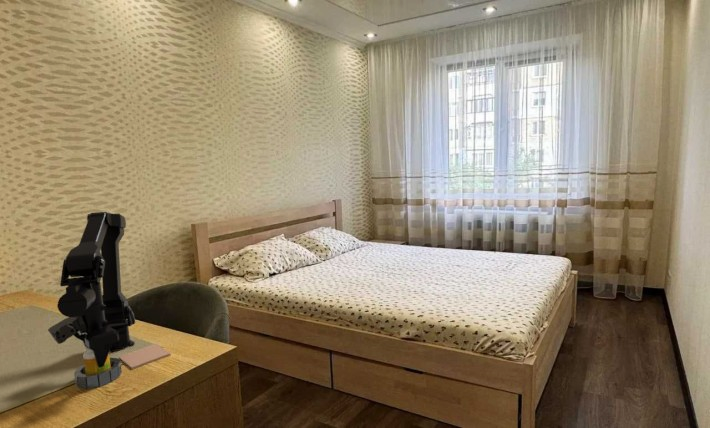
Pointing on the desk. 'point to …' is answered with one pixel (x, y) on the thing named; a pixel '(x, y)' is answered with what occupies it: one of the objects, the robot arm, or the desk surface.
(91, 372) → the supplement bottle
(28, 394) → the desk surface
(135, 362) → the terracotta pad
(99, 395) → the desk surface
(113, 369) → the grey segmented ring
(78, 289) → the robot arm
